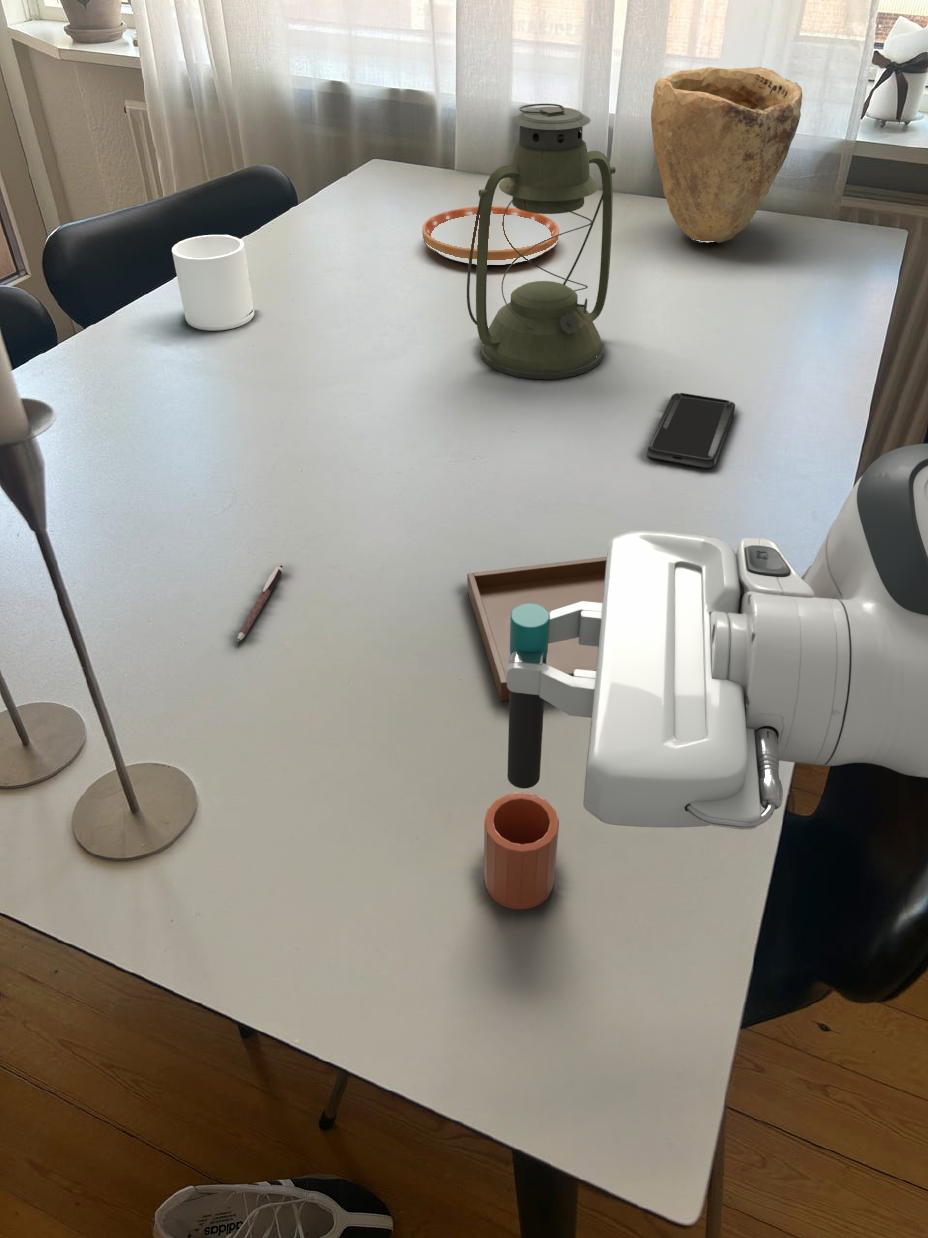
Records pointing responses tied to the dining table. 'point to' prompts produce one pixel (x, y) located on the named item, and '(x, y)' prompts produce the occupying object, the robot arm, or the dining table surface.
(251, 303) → the mug
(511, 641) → the marker
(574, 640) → the tray
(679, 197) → the rough clay pot
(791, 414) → the dining table surface
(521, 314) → the lantern
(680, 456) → the phone
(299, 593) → the dining table surface
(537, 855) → the pen cup
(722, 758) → the robot arm
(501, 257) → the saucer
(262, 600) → the pen
